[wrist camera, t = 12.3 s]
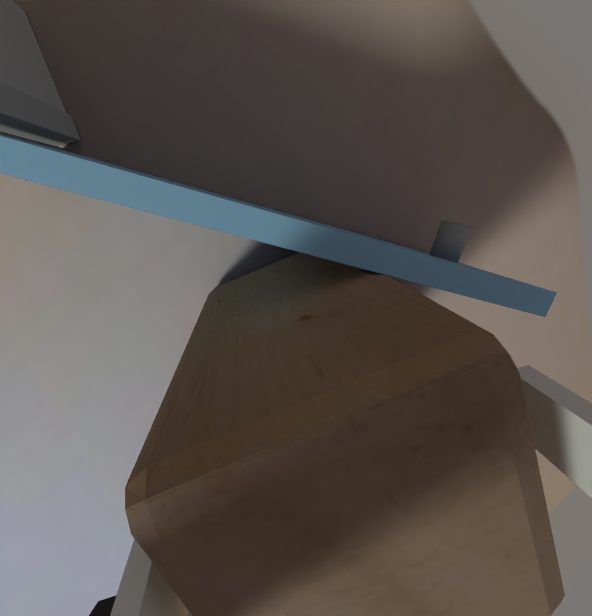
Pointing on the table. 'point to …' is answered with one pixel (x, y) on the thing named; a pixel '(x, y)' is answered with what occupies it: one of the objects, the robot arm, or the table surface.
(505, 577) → the wooden block
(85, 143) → the table surface
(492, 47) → the table surface
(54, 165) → the door
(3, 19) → the wall frame
